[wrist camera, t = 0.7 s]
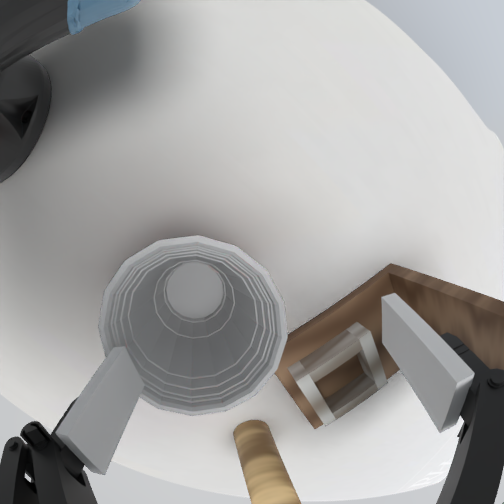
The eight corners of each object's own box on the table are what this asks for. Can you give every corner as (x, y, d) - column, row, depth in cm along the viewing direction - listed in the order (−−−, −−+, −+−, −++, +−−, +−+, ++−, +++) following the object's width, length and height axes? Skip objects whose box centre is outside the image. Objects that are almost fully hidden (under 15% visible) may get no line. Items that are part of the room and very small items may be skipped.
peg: (226, 430, 30) (246, 513, 17) (258, 414, 30) (290, 496, 18) (244, 447, 31) (268, 523, 18) (274, 432, 31) (307, 507, 19)
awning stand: (260, 351, 29) (413, 605, 1) (390, 263, 30) (615, 347, 3) (311, 423, 32) (418, 583, 5) (414, 349, 34) (559, 446, 6)
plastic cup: (272, 263, 27) (325, 291, 15) (222, 357, 27) (238, 435, 15) (169, 210, 25) (143, 198, 13) (123, 311, 25) (77, 369, 13)
